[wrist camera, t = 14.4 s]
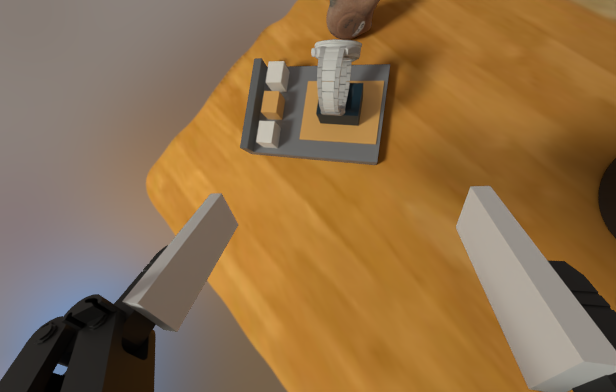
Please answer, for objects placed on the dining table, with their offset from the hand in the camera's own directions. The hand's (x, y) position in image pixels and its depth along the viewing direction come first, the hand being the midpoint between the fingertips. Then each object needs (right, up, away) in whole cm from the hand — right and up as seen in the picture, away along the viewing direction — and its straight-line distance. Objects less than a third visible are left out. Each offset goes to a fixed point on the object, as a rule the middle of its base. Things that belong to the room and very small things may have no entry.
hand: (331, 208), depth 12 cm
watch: (+4, +13, +19) cm, 24 cm away
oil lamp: (+7, +26, +21) cm, 34 cm away
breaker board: (0, +13, +22) cm, 25 cm away
